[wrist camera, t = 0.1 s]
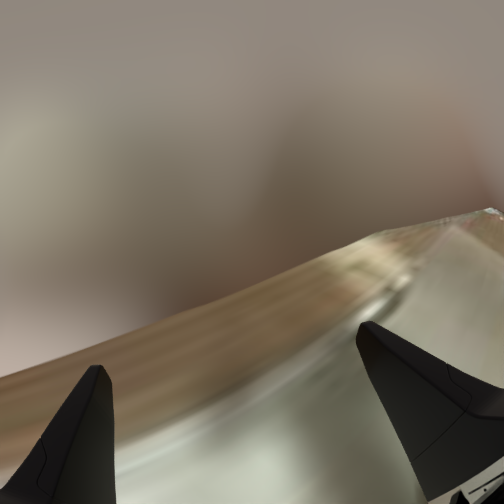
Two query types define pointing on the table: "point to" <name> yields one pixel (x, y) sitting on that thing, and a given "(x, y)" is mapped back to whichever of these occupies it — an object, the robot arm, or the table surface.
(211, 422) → the table surface
